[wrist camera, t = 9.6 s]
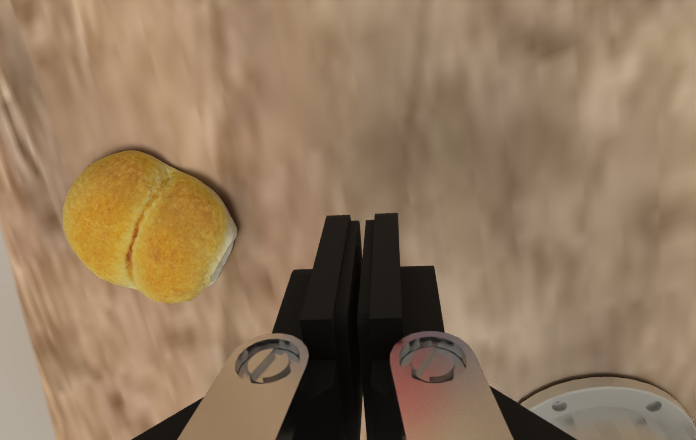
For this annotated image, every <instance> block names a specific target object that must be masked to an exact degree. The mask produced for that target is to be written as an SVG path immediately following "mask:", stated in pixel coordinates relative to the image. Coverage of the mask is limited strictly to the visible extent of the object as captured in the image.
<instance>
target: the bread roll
mask: <svg viewBox="0 0 696 440" xmlns="http://www.w3.org/2000/svg"><path fill="white" fill-rule="evenodd" d="M63 227H64V231H65V234H66V237H67V239H68V242H69V244H70V245H71V247H72V248H73V250H74V251H75V253H76V254H77V256H78V257H79V258H80V259H81V260H82V261H83V262H84V264H85V265H86V266H87V267H88V268H89V269H90V270H91V271H92V272H93V273H95V274H96V275H97V276H98V277H100V278H102V279H104V280H106V281H108V282H111V283H113V284H116V285H120V286H123V287H129V288H132V289H136V290H139V291H141V292H142V293H143V294H144V295H145V296H147V297H148V298H150V299H152V300H154V301H155V302H163V303H180V302H185V301H190V300H192V299H193V298H195V297H196V295H198V294H199V293H201V292H202V291H203V290H204V289H205V288H207V287H208V286H210V285H211V284H212V283H215V281H216V279H217V277H218V276H219V273H220V272H221V270H222V268H223V267H224V265H225V263H226V261H227V259H228V257H229V254H230V253H231V250H232V247H233V241H234V240H235V238H236V237H237V227H236V225H235V223H234V221H233V219H232V217H231V216H230V214H229V212H228V210H227V208H226V206H225V204H224V203H223V201H222V200H221V199H220V197H219V196H218V195H217V194H216V193H215V192H214V191H213V190H212V189H211V188H209V187H208V186H207V185H205V184H204V183H202V182H201V181H199V180H198V179H197V178H195V177H193V176H190V175H188V174H185V173H183V172H181V171H179V170H176V169H175V168H173V167H170V166H168V165H167V164H165V163H163V162H162V161H160V160H158V159H156V158H155V157H153V156H151V155H149V154H146V153H143V152H140V151H134V150H128V151H123V152H119V153H115V154H111V155H109V156H106V157H104V158H102V159H100V160H98V161H96V162H94V163H93V164H91V165H90V166H89V167H87V168H86V169H85V170H84V171H83V172H82V173H81V174H80V175H79V176H78V178H77V179H76V180H75V181H74V183H73V184H72V186H71V188H70V190H69V192H68V194H67V197H66V200H65V203H64V207H63Z"/></svg>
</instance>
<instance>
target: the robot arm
mask: <svg viewBox="0 0 696 440" xmlns="http://www.w3.org/2000/svg"><path fill="white" fill-rule="evenodd" d="M362 398H364V409H365V421H366V432H367V440H696V427H695V425H694V423H693V422H692V420H691V418H690V417H689V415H688V414H687V413H686V411H685V410H684V409H683V407H682V406H681V405H680V403H679V402H678V401H676V400H675V399H674V398H673V397H672V396H670V395H669V394H668V393H666V392H664V391H662V390H661V389H659V388H657V387H655V386H653V385H650V384H647V383H643V382H640V381H637V380H633V379H625V378H618V377H591V378H584V379H577V380H571V381H568V382H564V383H561V384H557V385H554V386H552V387H549V388H547V389H545V390H543V391H540V392H538V393H536V394H535V395H533V396H531V397H530V398H528V399H527V400H525V401H524V402H522V403H521V404H518V403H517V402H515V401H514V400H512V399H510V398H509V397H507V396H505V395H504V394H502V393H500V392H499V391H497V390H496V389H494V388H492V387H491V386H489V384H488V382H487V380H486V378H485V376H484V373H483V371H482V369H481V367H480V365H479V362H478V360H477V358H476V356H475V354H474V352H473V351H472V349H471V348H470V347H469V345H468V344H466V343H465V342H464V341H462V340H461V339H460V338H458V337H455V336H453V335H450V334H448V333H445V331H444V325H443V319H442V313H441V306H440V300H439V294H438V288H437V281H436V275H435V269H434V266H405V267H400V254H399V229H398V213H386V214H375V220H366V225H365V236H364V247H363V258H362V247H361V234H360V223H359V221H351V217H350V215H335V216H327V217H326V220H325V224H324V228H323V232H322V236H321V239H320V243H319V247H318V251H317V255H316V258H315V262H314V266H313V269H299V270H293V272H292V274H291V277H290V280H289V283H288V286H287V289H286V292H285V295H284V298H283V301H282V304H281V307H280V310H279V313H278V316H277V319H276V322H275V325H274V328H273V331H272V334H266V335H261V336H257V337H255V338H253V339H250V340H248V341H246V342H245V343H243V344H242V345H240V346H239V347H238V348H236V350H235V351H234V352H233V353H232V354H231V355H230V357H229V358H228V360H227V362H226V363H225V365H224V366H223V368H222V369H221V371H220V373H219V374H218V376H217V377H216V379H215V381H214V382H213V384H212V385H211V387H210V388H209V390H208V392H207V393H206V395H205V396H204V397H203V398H201V399H200V400H198V401H196V402H195V403H193V404H191V405H190V406H188V407H186V408H184V409H183V410H181V411H179V412H178V413H176V414H174V415H173V416H171V417H169V418H167V419H166V420H164V421H162V422H161V423H159V424H157V425H156V426H154V427H152V428H150V429H149V430H147V431H145V432H144V433H142V434H140V435H139V436H137V437H135V438H133V439H132V440H360V431H361V414H362Z"/></svg>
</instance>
